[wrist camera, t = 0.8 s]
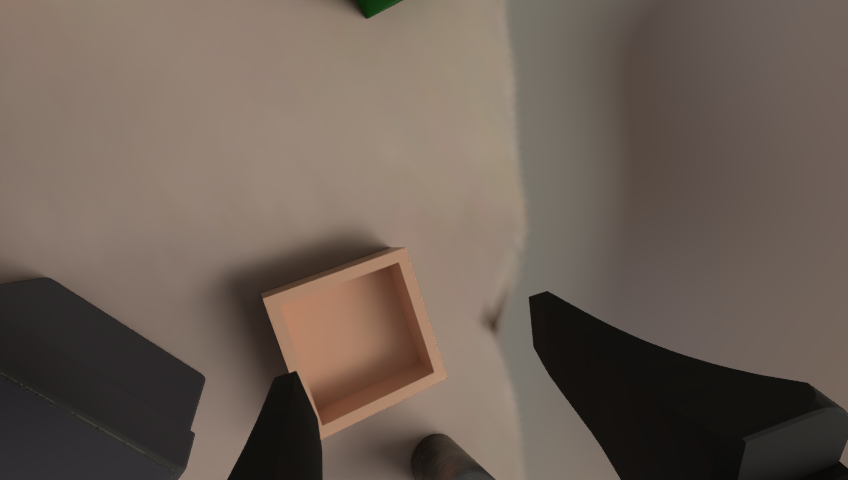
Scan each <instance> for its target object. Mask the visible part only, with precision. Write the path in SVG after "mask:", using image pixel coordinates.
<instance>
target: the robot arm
mask: <svg viewBox="0 0 848 480" xmlns="http://www.w3.org/2000/svg"><path fill="white" fill-rule="evenodd" d="M529 304H530V314H531V325H532V335H533V346H534V349H535V350H536V352H537V354H538V356H539V358H540V360H541V361H542V363H543V365H544V367H545V368H546V370H547V372H548V374H549V375H550V377H551V378H552V380H553V381H554V382H555V383H556V385H557V386H558V388H559V389H560V391H561V392H562V393H563V395H564V396H565V397H566V399H567V400H568V401H569V403H570V404H571V405H572V407H573V408H574V409H575V411H576V412H577V413H578V415H579V416H580V418H581V419H582V420H583V421H584V423H585V424H586V425H587V427H588V428H589V430H590V431H591V432H592V434H593V435H594V437H595V438H596V440H597V441H598V443H599V444H600V446H601V447H602V449H603V450H604V452H605V454H606V455H607V457H608V459H609V460H610V462H611V464H612V465H613V467H614V469H615V470H616V472H617V474H618V475H619V477H620V479H621V480H848V468H847V467H845V466H844V465H843V464H842V463H841V462H840V461H839V460H840V457H841V455H842V452H843V450H844V447H845V445H846V442H847V440H848V413H847V412H846V411H845V410H844V409H843V408H842V407H840V406H839V405H837V404H836V403H835V402H833V401H832V400H831V399H829V398H828V397H826V396H825V395H824V394H822V393H821V392H820V391H818V390H817V389H815V388H814V387H813V386H811V385H810V384H808V383H805V382H799V381H793V380H787V379H781V378H775V377H769V376H764V375H758V374H754V373H749V372H745V371H740V370H736V369H731V368H727V367H723V366H719V365H716V364H712V363H709V362H705V361H702V360H698V359H695V358H692V357H688V356H685V355H682V354H679V353H676V352H673V351H670V350H668V349H665V348H662V347H660V346H657V345H654V344H652V343H649V342H646V341H644V340H642V339H639V338H637V337H635V336H632V335H630V334H628V333H626V332H624V331H621V330H619V329H617V328H615V327H613V326H611V325H609V324H607V323H605V322H603V321H601V320H599V319H597V318H595V317H593V316H591V315H590V314H588V313H586V312H584V311H582V310H580V309H578V308H577V307H575V306H573V305H571V304H570V303H568V302H565V301H564V300H562V299H561V298H559V297H557V296H555V295H553V294H552V293H550V292H548V291H546V292H543V293H540V294H536V295H534V296H530V297H529ZM227 480H322V447H321V439H320V431H319V424H318V418H317V416H316V414H315V411H314V409H313V407H312V405H311V402H310V400H309V398H308V396H307V393H306V391H305V389H304V387H303V384H302V382H301V380H300V378H299V375H298V373H297V371H294V372H291V373H288V374H284V375H281V376H278V377H275V379H274V380H273V382H272V385H271V387H270V390H269V392H268V395H267V397H266V400H265V402H264V405H263V407H262V409H261V412H260V414H259V416H258V419H257V421H256V423H255V425H254V427H253V430H252V432H251V434H250V436H249V438H248V440H247V443H246V445H245V447H244V449H243V451H242V453H241V454H240V456H239V458H238V460H237V462H236V464H235V466H234V468H233V470H232V472H231V474H230V475H229V477H228V479H227Z"/></svg>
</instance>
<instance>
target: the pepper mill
mask: <svg viewBox="0 0 848 480" xmlns="http://www.w3.org/2000/svg"><path fill="white" fill-rule="evenodd" d="M411 469H412V473H413V475H414V477H415V479H416V480H495V479H494V478H493V477H492V476H491V475H490V474H489V473H488V472H487V471H486V470H485V469H484V468H482V467H481V466H480V465H479V464H478V463H477V462H476V461H475V460H474V459H473V458H472V457H471V456H469V455H468V454H467V453H466V452H465V451H464V450H463V449H462V448H461V447H460V446H459V445H458V444H456V443H455V442H454V441H453V440H452V439H451V438H450V437H448V436H446V435H444V434H433V435H430V436H428V437H426V438H424V439H423V440H422V441H421V442H420V443H419V444H418V445H417V447H416V448H415V450H414V452H413V455H412V459H411Z"/></svg>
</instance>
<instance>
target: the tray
mask: <svg viewBox="0 0 848 480" xmlns="http://www.w3.org/2000/svg"><path fill="white" fill-rule="evenodd" d="M261 296H262V298H263V301H264V304H265V307H266V310H267V312H268V315H269V318H270V321H271V323H272V326H273V329H274V332H275V335H276V337H277V340H278V343H279V346H280V349H281V351H282V354H283V357H284V360H285V362H286V365H287V368H288V371H289V373H291V372H294V371H297V373H298V375H299V378H300V380H301V382H302V384H303V387H304V389H305V391H306V393H307V396H308V398H309V400H310V402H311V405H312V407H313V409H314V411H315V414H316V416H317V418H318V424H319V431H320V439H321V440H322V439H324V438H326V437H328V436H330V435H332V434H334V433H336V432H338V431H340V430H342V429H344V428H347V427H349V426H351V425H353V424H355V423H357V422H359V421H361V420H363V419H365V418H367V417H369V416H371V415H373V414H375V413H377V412H379V411H381V410H383V409H385V408H388V407H390V406H392V405H394V404H396V403H398V402H400V401H402V400H404V399H406V398H408V397H410V396H412V395H414V394H416V393H418V392H420V391H422V390H424V389H426V388H429V387H431V386H433V385H435V384H437V383H439V382H441V381H443V380H445V379H447V378H448V377H447V374H446V371H445V368H444V365H443V362H442V359H441V356H440V352H439V349H438V346H437V343H436V340H435V337H434V334H433V331H432V328H431V325H430V321H429V318H428V315H427V312H426V309H425V306H424V303H423V300H422V297H421V293H420V290H419V287H418V284H417V281H416V278H415V275H414V272H413V269H412V266H411V262H410V259H409V256H408V253H407V250H406V247H390V248H388V249H385V250H382V251H379V252H376V253H374V254H371V255H368V256H365V257H362V258H360V259H357V260H354V261H351V262H348V263H345V264H343V265H340V266H337V267H334V268H331V269H329V270H326V271H323V272H320V273H317V274H314V275H312V276H309V277H306V278H303V279H300V280H298V281H295V282H292V283H289V284H286V285H284V286H281V287H278V288H275V289H272V290H269V291H267V292H264V293H261Z"/></svg>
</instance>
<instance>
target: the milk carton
mask: <svg viewBox="0 0 848 480" xmlns="http://www.w3.org/2000/svg"><path fill="white" fill-rule="evenodd" d="M356 1H357V3H358V4H359V6H360V8H361V9H362V11H363V13H364V14H365V16H366V18H367V19H368V18H370V17H372V16H374V15H375V14H377V13H379V12H381V11H383V10H385V9H387V8H389V7H391V6H393V5H395V4H397V3H398V2H400V1H402V0H356Z"/></svg>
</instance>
